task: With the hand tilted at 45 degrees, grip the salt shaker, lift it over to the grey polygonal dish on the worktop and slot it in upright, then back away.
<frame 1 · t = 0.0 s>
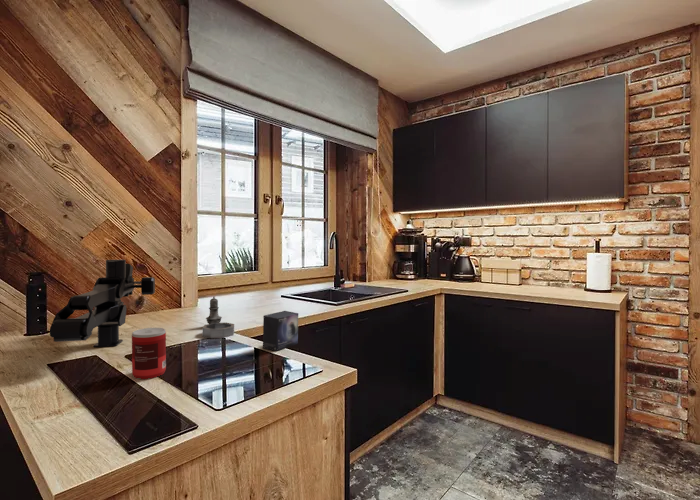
hand: (133, 283, 147), 17 cm above the counter, tool horizontal, fingers open, 9 cm apart
small box: (280, 346, 123), on the counter
canned food: (149, 374, 97), on the counter
grey polygonal dish: (218, 334, 137), on the counter
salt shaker: (213, 327, 148), on the counter
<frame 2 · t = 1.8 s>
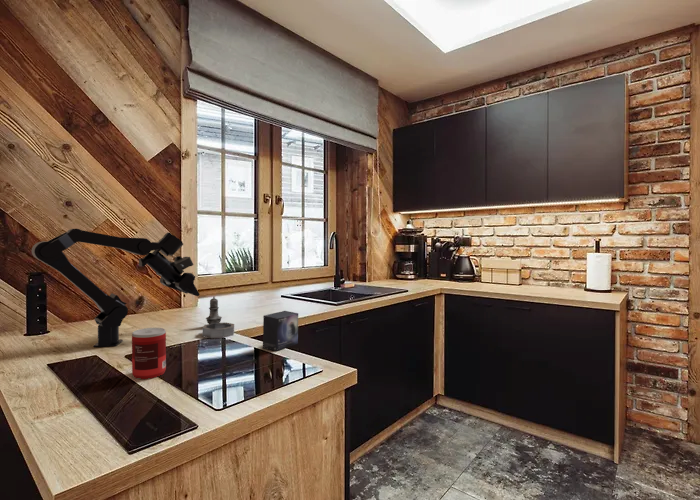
hand: (193, 294, 142), 14 cm above the counter, tool tilted 45°, fingers open, 9 cm apart
nothing on the counter moved.
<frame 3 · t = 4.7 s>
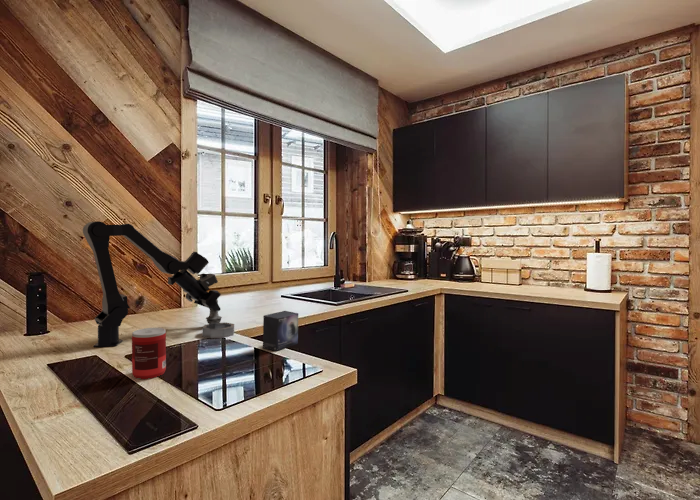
hand: (217, 309, 149), 7 cm above the counter, tool tilted 45°, fingers closed on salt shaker, 4 cm apart
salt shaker: (213, 327, 148), on the counter, touching gripper
everything else where it was.
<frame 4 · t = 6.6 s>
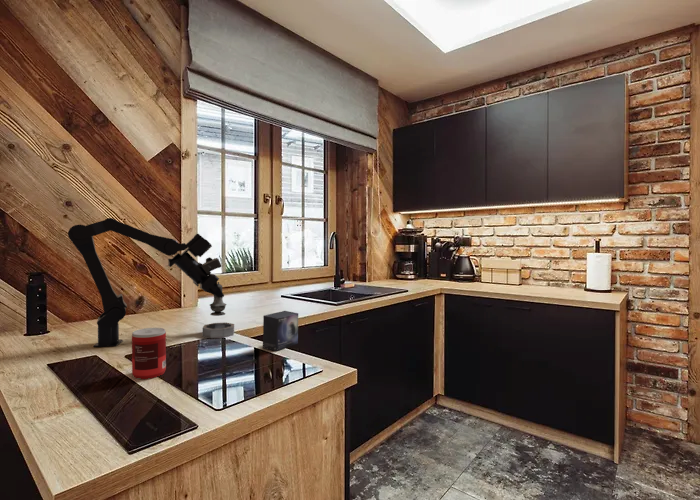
hand: (222, 296, 141), 13 cm above the counter, tool tilted 45°, fingers closed on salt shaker, 4 cm apart
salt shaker: (217, 314, 140), point 6 cm above the counter, touching gripper
everything else where it was.
when the fingers open (8 cm above the counter, at t = 8.5 s): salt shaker drops 1 cm, resting in grey polygonal dish.
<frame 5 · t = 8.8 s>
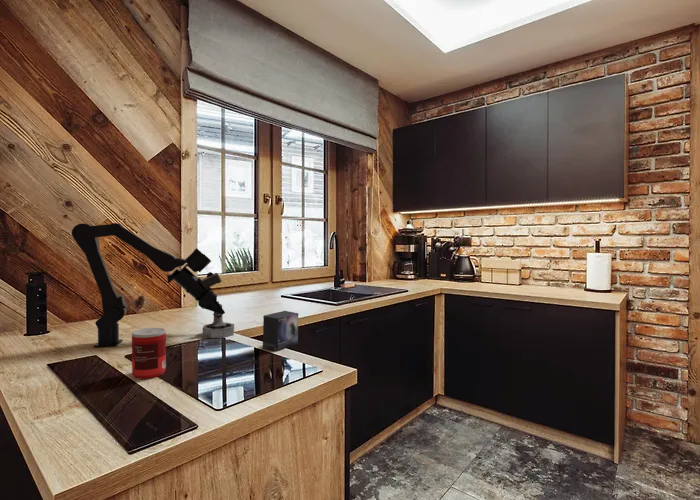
hand: (222, 311, 137), 8 cm above the counter, tool tilted 45°, fingers open, 7 cm apart
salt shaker: (218, 334, 137), resting in grey polygonal dish
everything else where it was.
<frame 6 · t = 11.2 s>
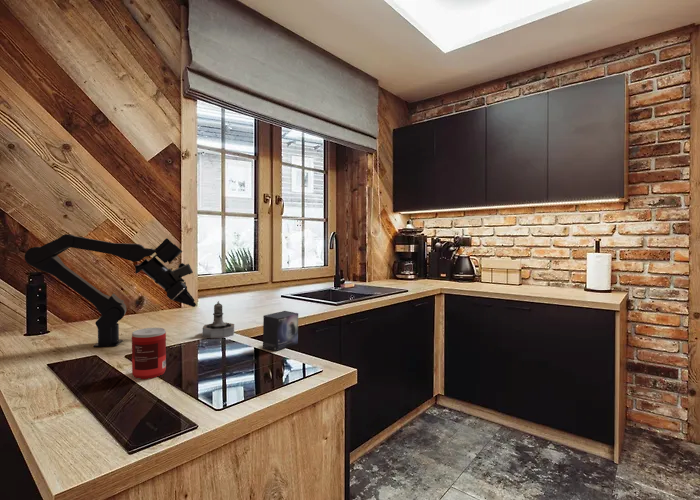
hand: (194, 303, 133), 12 cm above the counter, tool tilted 45°, fingers open, 9 cm apart
nothing on the counter moved.
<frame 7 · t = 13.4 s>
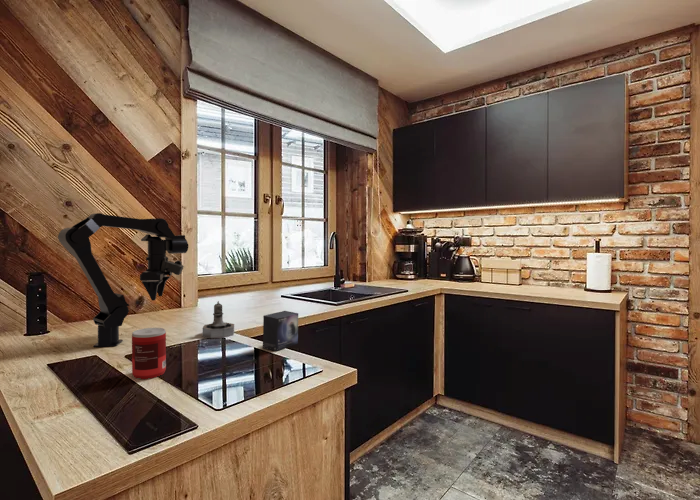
hand: (157, 298, 135), 13 cm above the counter, tool pointing down, fingers open, 9 cm apart
nothing on the counter moved.
at the end: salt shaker 0.2 cm from the grey polygonal dish (horizontally); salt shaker resting in grey polygonal dish; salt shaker tilted 0° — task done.
